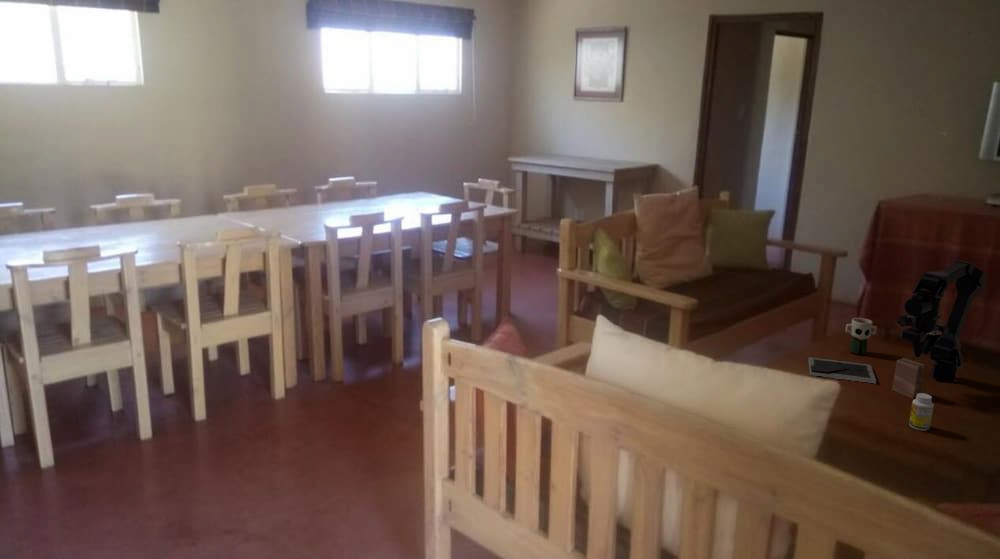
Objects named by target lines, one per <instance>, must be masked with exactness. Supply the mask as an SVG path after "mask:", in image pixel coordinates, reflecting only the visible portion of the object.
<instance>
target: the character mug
mask: <svg viewBox="0 0 1000 559" xmlns="http://www.w3.org/2000/svg"><path fill="white" fill-rule="evenodd" d="M849 327H850V329H849ZM872 329H873V331H872ZM877 329H878V326H876V325H873V320H870V319H868V318H861V317H854V318H852V319H851V323H847V324H846V325H845V333H850V336H852V338H851V341H850V345H849V350H848V351H850V352H851V353H853V354H856V355H858V354H861V355H866V354H868V340H867V339H869V338H871V335H876V334H877Z"/></svg>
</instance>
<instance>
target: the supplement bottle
mask: <svg viewBox="0 0 1000 559" xmlns="http://www.w3.org/2000/svg"><path fill="white" fill-rule="evenodd" d="M932 398H933V397H932V395H930V394H928V393H922V392H920V393H918V394H917V396H916V397H915V399H914V398H913V400H912V402H911V408H910V414H909V421H908V425H909V426H910V427H911V428H912V429H914V430H917V431H928V430H930V428H931V423H932V417H933V413H934V406H935V403H933V402H932Z"/></svg>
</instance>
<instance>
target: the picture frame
mask: <svg viewBox="0 0 1000 559" xmlns="http://www.w3.org/2000/svg"><path fill="white" fill-rule="evenodd" d="M808 367H809V373H810V374H809V375H810V376H811V375H814V376H813V377H816V376H823V377H830V378H829V379H831V378H834V379H833V380H838V379H846V380H851V381H850V382H854V381H859V382H858V383H861V382H868V383H867V384H869V383H874V384H873V385H876V384H877V379H876V377H875V373H874V371H873V368H872V366H871V364H867V363H859V362H849V361H844V360H842V361H841V360H834V359H826V358H818V357H811V356H810V357H808ZM823 377H822V378H823ZM846 380H845V381H846Z"/></svg>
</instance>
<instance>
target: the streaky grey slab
mask: <svg viewBox="0 0 1000 559" xmlns="http://www.w3.org/2000/svg"><path fill="white" fill-rule="evenodd" d="M924 369H925V364H924V363H921V362H918V361H914V360H911V359H908V358H905V357H902V358H898V359H897V360H896V363H895V369H894V374H893V375H894V376H893V383H892V389H891V392H894V391H895V392H894V393H897V392H898V393H897V394H900V395H902V394H903V396H905V395H906V397H908V398H910V399H914V398H916V396H917V394H918V393H921V388H922V383H923V382H922V381H923V376H924Z"/></svg>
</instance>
